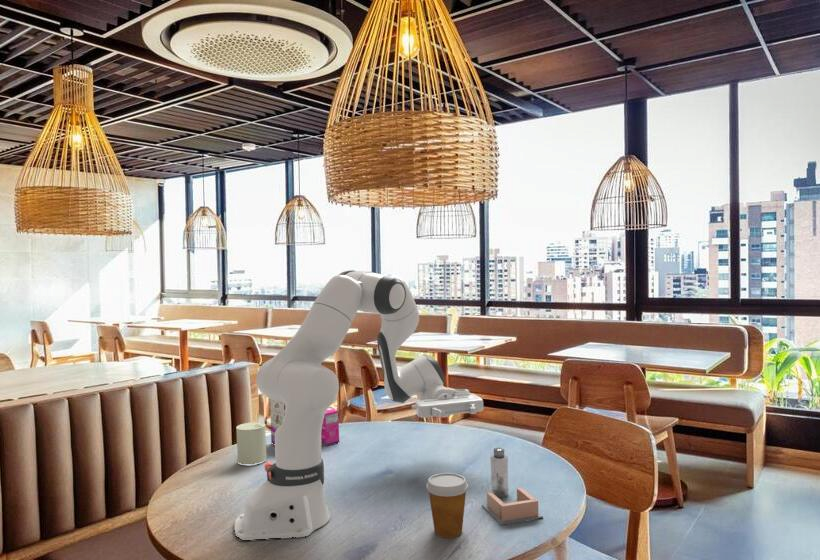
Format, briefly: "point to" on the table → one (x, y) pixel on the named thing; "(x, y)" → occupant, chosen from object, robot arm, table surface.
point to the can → (251, 442)
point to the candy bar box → (276, 417)
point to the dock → (512, 508)
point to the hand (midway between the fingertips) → (458, 412)
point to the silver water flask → (499, 473)
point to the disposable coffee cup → (447, 503)
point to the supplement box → (330, 427)
